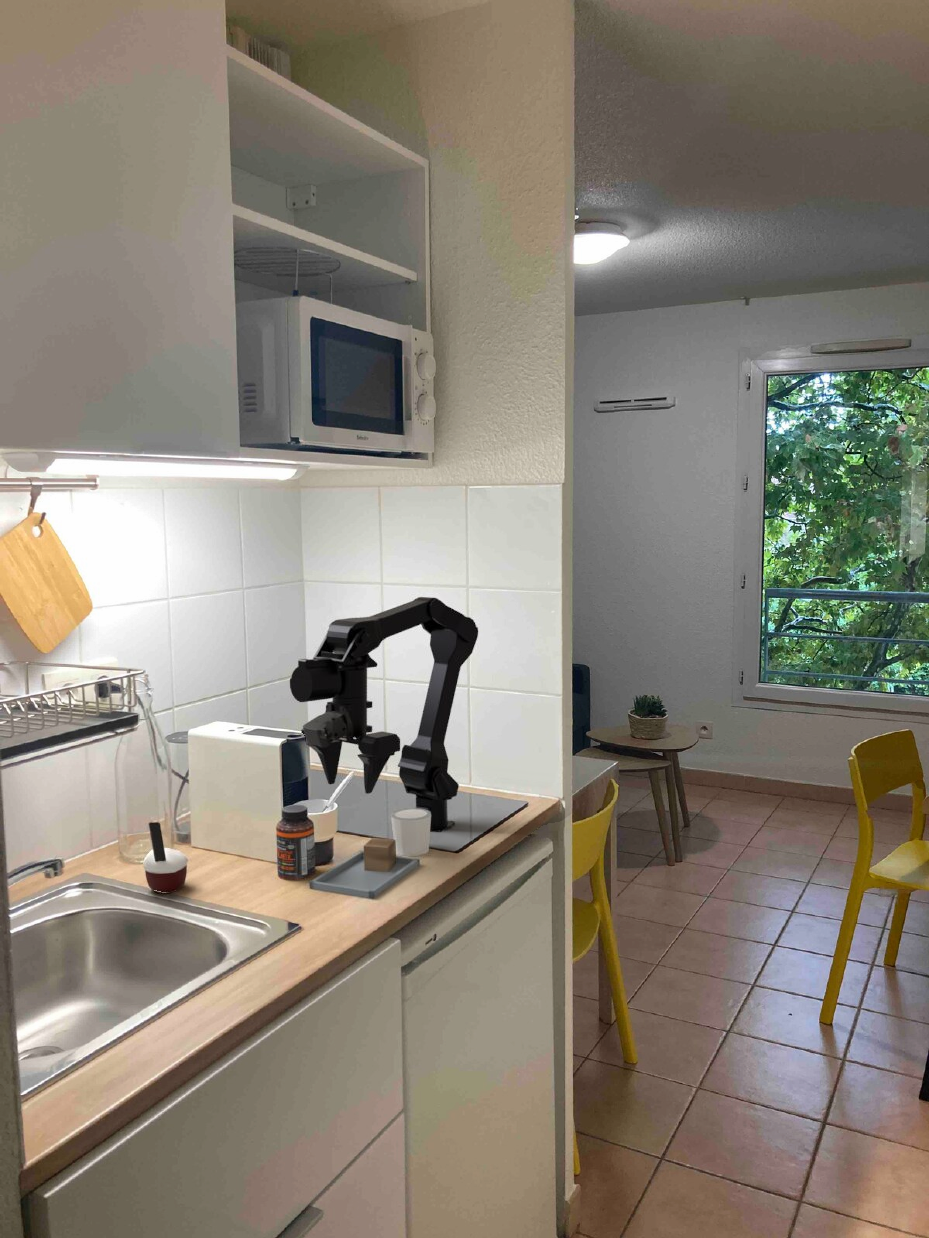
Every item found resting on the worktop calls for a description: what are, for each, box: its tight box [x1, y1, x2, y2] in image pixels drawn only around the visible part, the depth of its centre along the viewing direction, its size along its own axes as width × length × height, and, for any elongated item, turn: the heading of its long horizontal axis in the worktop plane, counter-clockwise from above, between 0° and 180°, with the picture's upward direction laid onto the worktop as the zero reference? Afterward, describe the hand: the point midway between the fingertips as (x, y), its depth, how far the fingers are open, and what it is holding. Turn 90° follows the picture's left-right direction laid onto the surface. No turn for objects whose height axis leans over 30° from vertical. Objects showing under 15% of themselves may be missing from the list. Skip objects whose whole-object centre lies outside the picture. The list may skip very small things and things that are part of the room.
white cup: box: [390, 807, 431, 857], centre depth 167 cm, size 7×7×7 cm
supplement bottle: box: [275, 804, 316, 881], centre depth 157 cm, size 6×6×11 cm
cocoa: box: [142, 821, 189, 893], centre depth 153 cm, size 10×6×12 cm, turn 159°
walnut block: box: [363, 837, 397, 872], centre depth 160 cm, size 4×4×4 cm
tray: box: [308, 850, 421, 900], centre depth 156 cm, size 15×11×2 cm
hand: (349, 788), depth 166 cm, fingers open, 9 cm apart
